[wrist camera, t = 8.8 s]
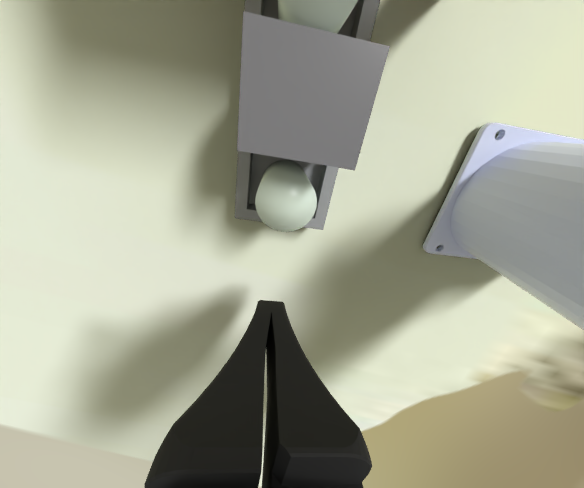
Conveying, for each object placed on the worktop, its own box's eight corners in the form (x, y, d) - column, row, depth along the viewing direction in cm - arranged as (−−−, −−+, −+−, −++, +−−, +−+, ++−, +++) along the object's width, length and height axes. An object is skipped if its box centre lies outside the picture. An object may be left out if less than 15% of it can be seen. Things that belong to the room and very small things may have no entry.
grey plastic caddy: (372, -22, 9) (514, -247, 4) (317, 217, 15) (342, 276, 9) (255, -55, 9) (211, -380, 3) (240, 206, 14) (212, 262, 8)
